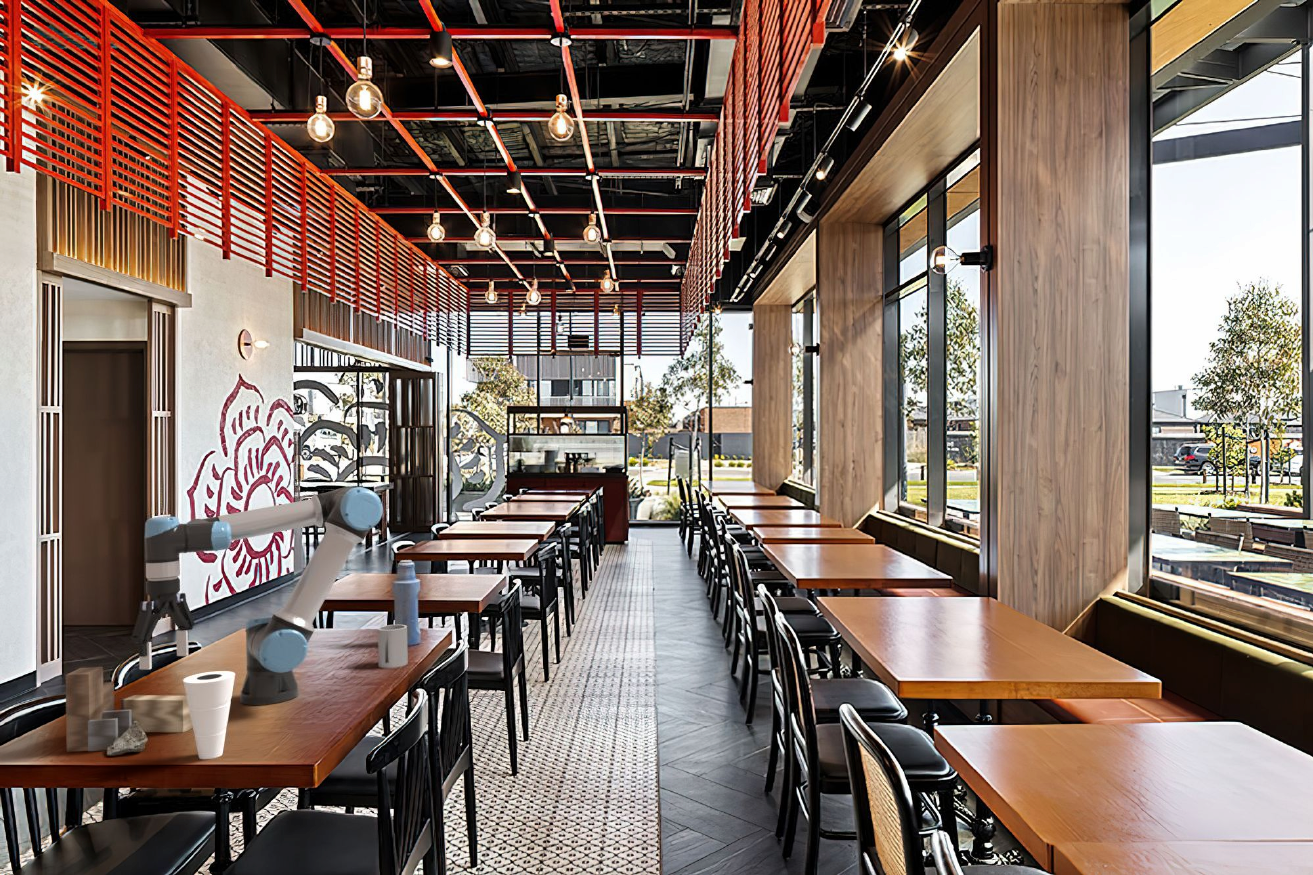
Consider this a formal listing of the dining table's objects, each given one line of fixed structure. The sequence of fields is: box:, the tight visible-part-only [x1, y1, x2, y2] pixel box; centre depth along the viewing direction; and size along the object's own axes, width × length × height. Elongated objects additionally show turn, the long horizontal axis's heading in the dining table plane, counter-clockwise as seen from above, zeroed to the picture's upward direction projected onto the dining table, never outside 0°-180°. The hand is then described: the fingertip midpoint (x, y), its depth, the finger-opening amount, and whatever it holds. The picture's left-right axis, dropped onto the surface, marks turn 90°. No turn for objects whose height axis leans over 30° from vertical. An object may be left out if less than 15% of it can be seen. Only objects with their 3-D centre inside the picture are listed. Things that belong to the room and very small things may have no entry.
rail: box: [121, 694, 193, 733], centre depth 221 cm, size 17×4×8 cm, turn 84°
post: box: [65, 666, 132, 753], centre depth 213 cm, size 11×17×18 cm, turn 9°
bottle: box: [391, 559, 422, 647], centre depth 314 cm, size 10×10×30 cm
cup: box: [377, 624, 409, 669], centre depth 284 cm, size 9×9×12 cm
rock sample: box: [106, 721, 148, 756], centre depth 204 cm, size 10×8×9 cm
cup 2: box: [182, 670, 236, 760], centre depth 200 cm, size 11×11×18 cm
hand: (164, 662), depth 221 cm, fingers open, 13 cm apart
